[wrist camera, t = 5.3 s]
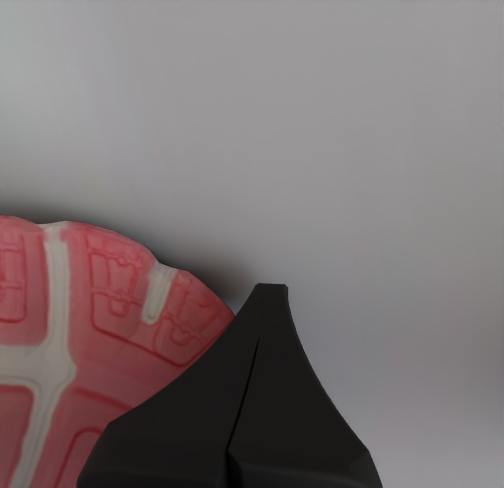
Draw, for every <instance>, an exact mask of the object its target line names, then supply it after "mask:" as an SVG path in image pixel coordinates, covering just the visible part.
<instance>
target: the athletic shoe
mask: <svg viewBox="0 0 504 488" xmlns="http://www.w3.org/2000/svg"><path fill="white" fill-rule="evenodd" d="M234 317H235V315H234V314H233V312H232V311H231V309H230V308H229V307H228V306H227V305H226V304H225V303H224V302H223V301H222V300H221V299H220V298H219V297H218V296H217V295H216V294H215V293H213V292H212V291H211V290H210V289H209V288H208V287H207V286H206V285H205V284H204V283H203V282H202V281H200V280H199V279H198V278H196V277H195V276H193V275H192V274H191V273H189V272H188V271H185V270H181V269H177V268H172V267H169V266H166V265H163V264H160V263H159V262H158V261H157V260H156V258H155V257H154V255H153V254H152V253H151V251H150V250H148V249H147V248H146V247H144V246H143V245H141V244H140V243H138V242H136V241H134V240H132V239H130V238H128V237H126V236H123V235H121V234H119V233H117V232H115V231H112V230H108V229H105V228H101V227H98V226H95V225H91V224H88V223H82V222H71V221H61V222H55V223H49V224H35V223H33V222H31V221H29V220H26V219H22V218H18V217H14V216H8V215H0V488H76V482H77V478H78V476H79V474H80V472H81V470H82V468H83V466H84V464H85V462H86V460H87V458H88V456H89V454H90V452H91V450H92V448H93V447H94V445H95V443H96V442H97V440H98V438H99V437H100V435H101V434H102V432H103V431H104V429H105V428H106V426H107V424H108V423H109V422H111V421H113V420H114V419H116V418H118V417H120V416H121V415H123V414H125V413H126V412H128V411H130V410H131V409H133V408H135V407H136V406H138V405H140V404H141V403H143V402H144V401H146V400H147V399H149V398H150V397H151V396H153V395H154V394H155V393H157V392H158V391H160V390H161V389H162V388H164V387H165V386H166V385H168V384H169V383H171V382H172V381H173V380H174V379H176V378H177V377H178V376H179V375H180V374H182V373H183V372H184V371H185V370H186V369H187V368H188V367H189V366H191V365H192V364H193V363H194V362H195V361H196V360H197V359H198V358H199V357H200V356H201V355H202V354H203V353H204V352H205V351H206V350H207V349H208V348H209V347H210V346H211V345H212V344H213V343H214V342H215V341H216V339H217V338H218V337H219V336H220V335H221V334H222V332H223V331H224V330H225V329H226V328H227V327H228V325H229V324H230V323H231V321H232V320H233V319H234Z"/></svg>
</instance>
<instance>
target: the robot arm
mask: <svg viewBox="0 0 504 488" xmlns="http://www.w3.org/2000/svg"><path fill="white" fill-rule="evenodd" d="M76 488H383V487H382V483H381V480H380V477H379V475H378V472H377V469H376V467H375V464H374V462H373V460H372V457H371V455H370V452H369V450H368V449H367V448H366V446H365V445H364V444H363V443H362V442H361V440H360V439H359V438H358V437H357V435H356V434H355V433H354V432H353V430H352V429H351V428H350V427H349V425H348V424H347V423H346V421H345V420H344V418H343V417H342V416H341V414H340V413H339V411H338V410H337V409H336V407H335V405H334V404H333V402H332V401H331V399H330V398H329V396H328V395H327V393H326V391H325V390H324V388H323V387H322V385H321V383H320V381H319V380H318V378H317V376H316V374H315V372H314V370H313V368H312V366H311V365H310V363H309V360H308V358H307V356H306V354H305V352H304V349H303V347H302V345H301V342H300V340H299V337H298V334H297V331H296V328H295V325H294V322H293V319H292V315H291V311H290V307H289V301H288V287H287V286H286V285H285V284H265V283H258V284H257V285H255V287H254V289H253V291H252V292H251V294H250V296H249V297H248V299H247V300H246V302H245V303H244V305H243V306H242V308H241V309H240V311H239V312H238V313H237V315H236V316H235V317H234V319H233V320H232V321H231V323H230V324H229V325H228V327H227V328H226V329H225V330H224V331H223V332H222V334H221V335H220V336H219V337H218V338H217V339H216V341H215V342H214V343H213V344H212V345H211V346H210V347H209V348H208V349H207V350H206V351H205V352H204V353H203V354H202V355H201V356H200V357H199V358H198V359H197V360H196V361H195V362H194V363H193V364H192V365H191V366H189V367H188V368H187V369H186V370H185V371H184V372H183V373H182V374H180V375H179V376H178V377H177V378H176V379H174V380H173V381H172V382H171V383H169V384H168V385H166V386H165V387H164V388H162V389H161V390H160V391H158V392H157V393H155V394H154V395H153V396H151V397H150V398H149V399H147V400H146V401H144V402H143V403H141V404H140V405H138V406H136V407H135V408H133V409H131V410H130V411H128V412H126V413H125V414H123V415H121V416H120V417H118V418H116V419H114V420H113V421H111V422H109V423H108V424H107V426H106V428H105V429H104V431H103V432H102V434H101V435H100V437H99V438H98V440H97V442H96V443H95V445H94V447H93V448H92V450H91V452H90V454H89V456H88V458H87V460H86V462H85V464H84V466H83V468H82V470H81V472H80V474H79V476H78V478H77V482H76Z"/></svg>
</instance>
